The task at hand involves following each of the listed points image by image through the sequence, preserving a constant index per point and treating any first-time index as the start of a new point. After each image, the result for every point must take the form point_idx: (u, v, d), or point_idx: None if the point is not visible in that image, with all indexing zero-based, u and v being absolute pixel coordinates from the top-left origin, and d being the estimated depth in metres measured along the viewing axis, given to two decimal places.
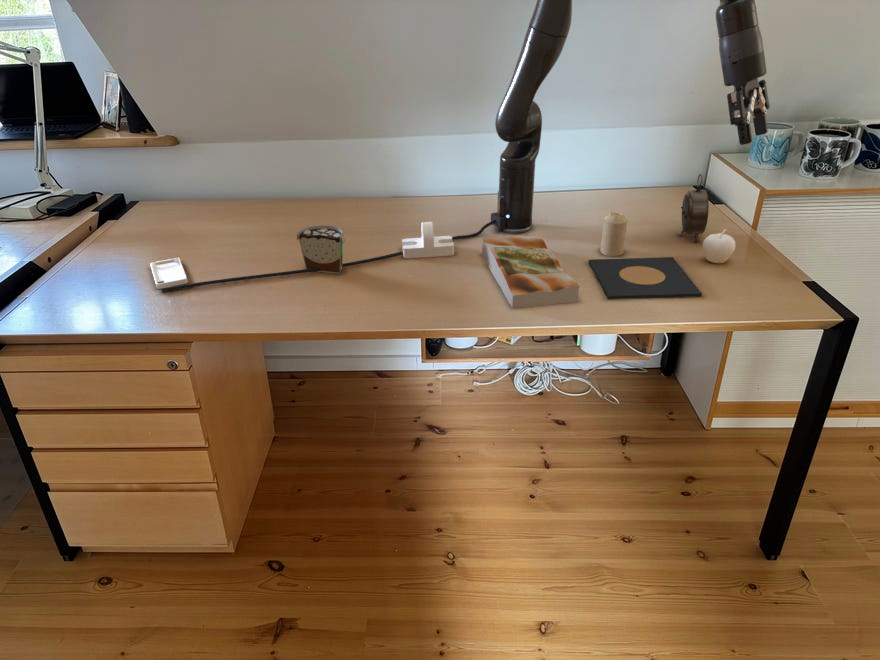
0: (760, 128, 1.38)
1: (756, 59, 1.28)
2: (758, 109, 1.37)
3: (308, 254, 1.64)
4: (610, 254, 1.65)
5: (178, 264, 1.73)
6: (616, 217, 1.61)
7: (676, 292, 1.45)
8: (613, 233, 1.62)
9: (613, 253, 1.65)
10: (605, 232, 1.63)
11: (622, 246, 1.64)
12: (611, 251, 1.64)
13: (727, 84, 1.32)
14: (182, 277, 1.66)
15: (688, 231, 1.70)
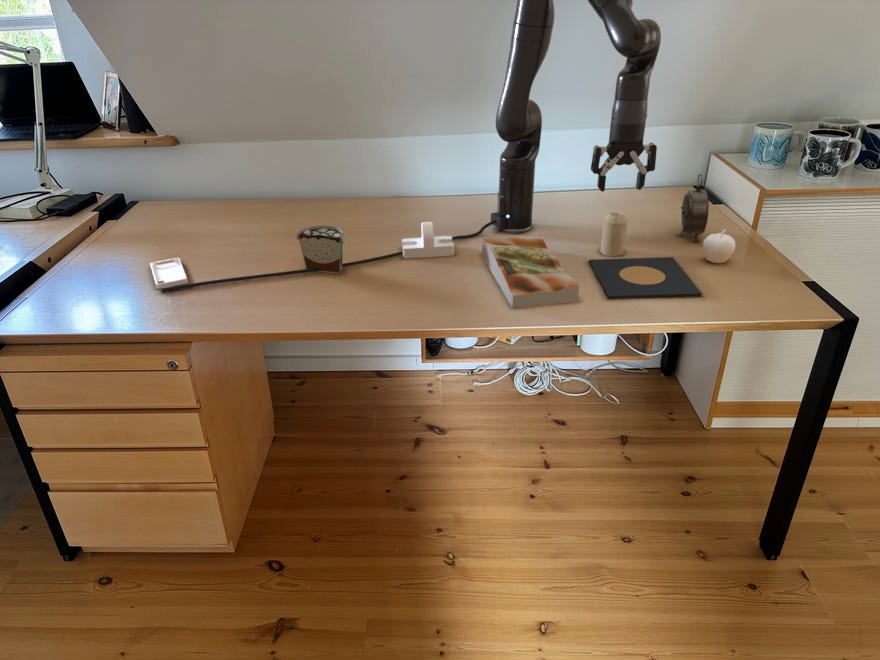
0: (637, 183, 1.58)
1: (622, 128, 1.49)
2: None
3: (308, 254, 1.64)
4: (610, 254, 1.65)
5: (178, 264, 1.73)
6: (616, 217, 1.61)
7: (676, 292, 1.45)
8: (613, 233, 1.62)
9: (613, 253, 1.65)
10: (605, 232, 1.63)
11: (622, 246, 1.64)
12: (611, 251, 1.64)
13: None
14: (182, 277, 1.66)
15: (688, 231, 1.70)
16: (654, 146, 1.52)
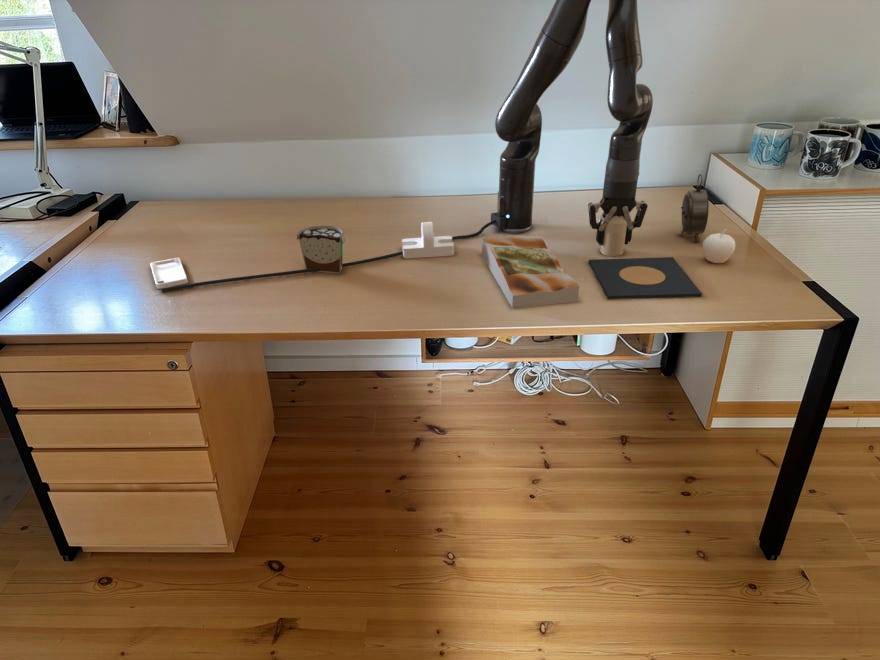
0: None
1: (615, 186, 1.55)
2: None
3: (308, 254, 1.64)
4: (610, 254, 1.65)
5: (178, 264, 1.73)
6: (616, 217, 1.61)
7: (676, 292, 1.45)
8: (613, 233, 1.62)
9: (613, 253, 1.65)
10: (605, 232, 1.63)
11: (622, 246, 1.64)
12: (611, 251, 1.64)
13: None
14: (182, 277, 1.66)
15: (688, 231, 1.70)
16: (645, 205, 1.59)
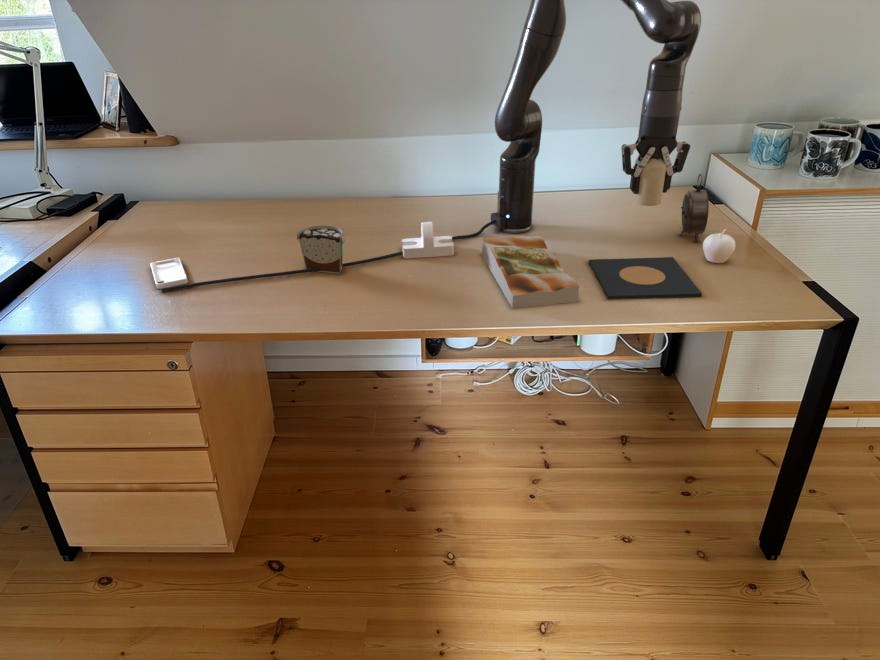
0: None
1: (654, 122, 1.35)
2: None
3: (308, 254, 1.64)
4: (646, 204, 1.45)
5: (178, 264, 1.73)
6: (654, 160, 1.41)
7: (676, 292, 1.45)
8: (650, 179, 1.42)
9: (650, 202, 1.44)
10: (641, 178, 1.43)
11: (660, 194, 1.44)
12: (648, 200, 1.44)
13: None
14: (182, 277, 1.66)
15: (688, 231, 1.70)
16: (688, 145, 1.39)
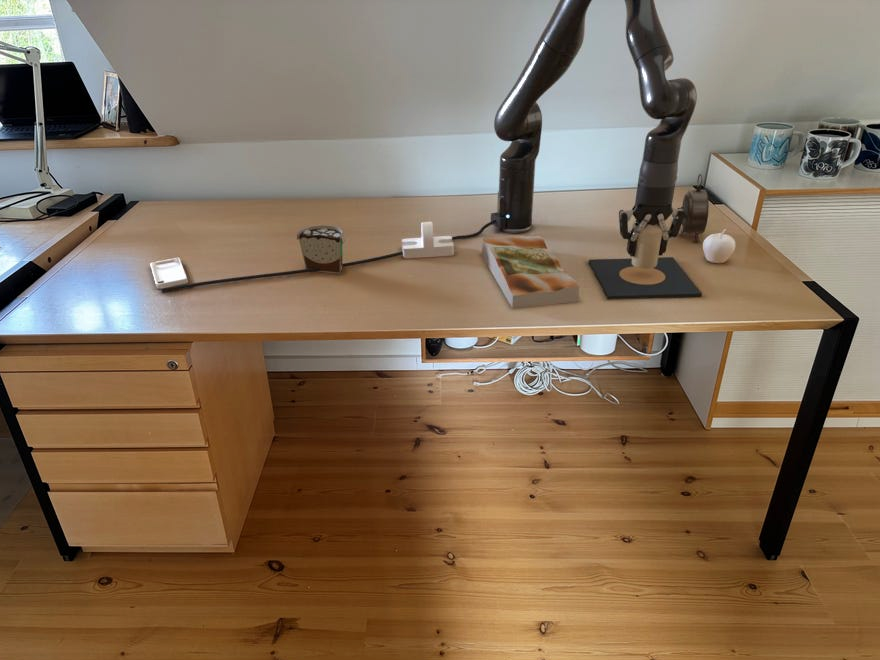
0: None
1: (650, 191, 1.40)
2: None
3: (308, 254, 1.64)
4: (643, 266, 1.49)
5: (178, 264, 1.73)
6: (650, 226, 1.45)
7: (676, 292, 1.45)
8: (647, 243, 1.46)
9: (646, 265, 1.49)
10: (638, 242, 1.48)
11: (656, 258, 1.49)
12: (644, 263, 1.49)
13: None
14: (182, 277, 1.66)
15: (688, 231, 1.70)
16: (683, 212, 1.44)
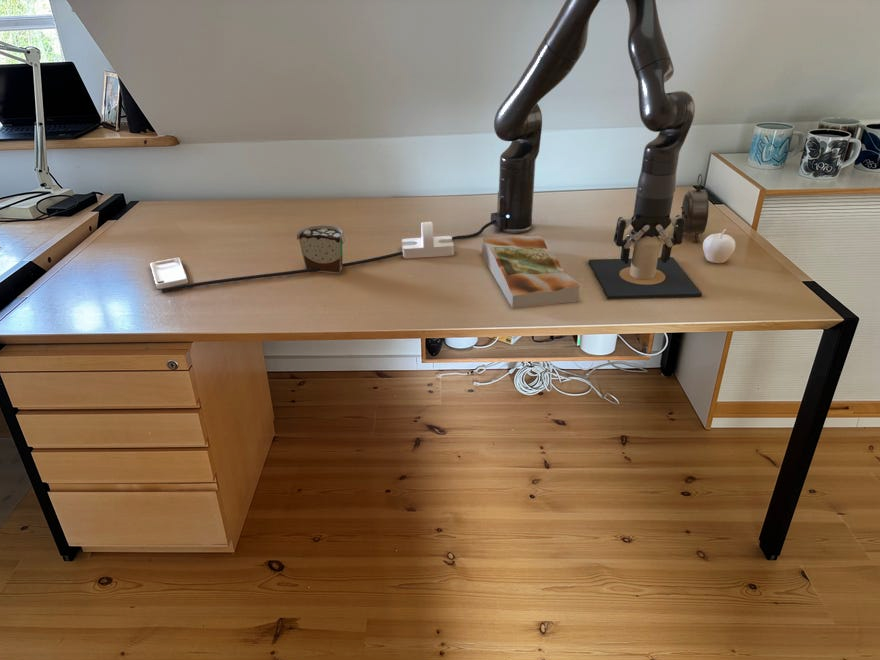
0: (662, 256, 1.50)
1: (649, 203, 1.41)
2: None
3: (308, 254, 1.64)
4: (641, 277, 1.51)
5: (178, 264, 1.73)
6: (648, 238, 1.47)
7: (676, 292, 1.45)
8: (645, 255, 1.48)
9: (644, 276, 1.50)
10: (636, 253, 1.49)
11: (654, 269, 1.50)
12: (642, 274, 1.50)
13: None
14: (182, 277, 1.66)
15: (688, 231, 1.70)
16: (681, 220, 1.45)
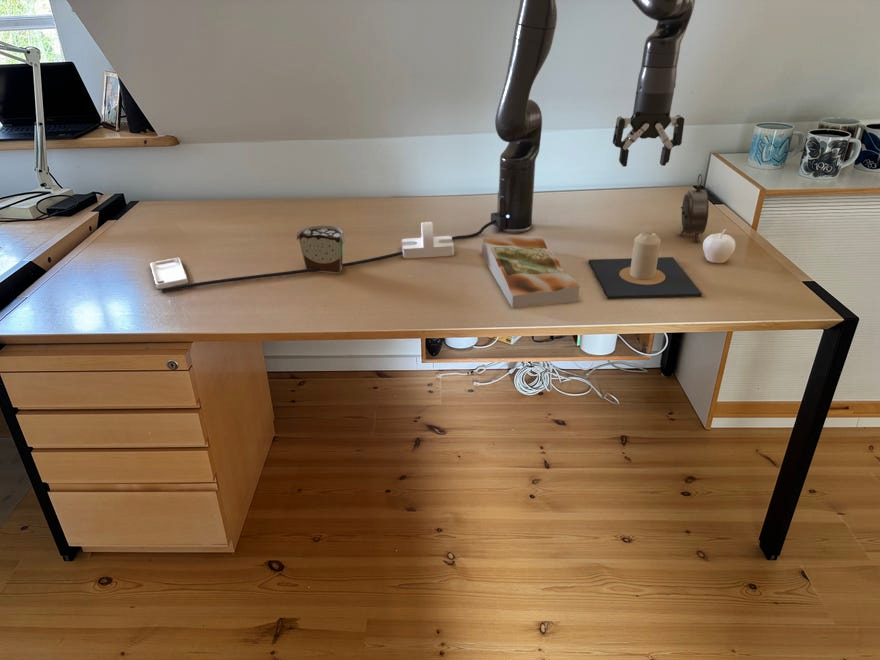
0: (662, 159, 1.49)
1: (648, 98, 1.39)
2: None
3: (308, 254, 1.64)
4: (641, 277, 1.51)
5: (178, 264, 1.73)
6: (648, 238, 1.47)
7: (676, 292, 1.45)
8: (645, 255, 1.48)
9: (644, 276, 1.50)
10: (636, 253, 1.49)
11: (654, 269, 1.50)
12: (642, 274, 1.50)
13: None
14: (182, 277, 1.66)
15: (688, 231, 1.70)
16: (682, 118, 1.43)
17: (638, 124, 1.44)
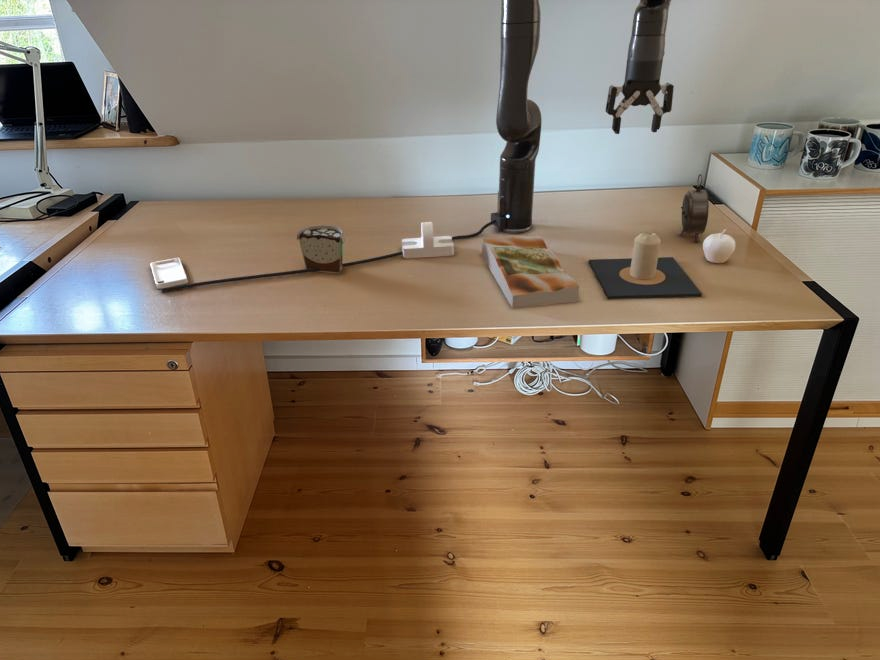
0: (653, 126, 1.55)
1: (639, 66, 1.46)
2: None
3: (308, 254, 1.64)
4: (641, 277, 1.51)
5: (178, 264, 1.73)
6: (648, 238, 1.47)
7: (676, 292, 1.45)
8: (645, 255, 1.48)
9: (644, 276, 1.50)
10: (636, 253, 1.49)
11: (654, 269, 1.50)
12: (642, 274, 1.50)
13: None
14: (182, 277, 1.66)
15: (688, 231, 1.70)
16: (671, 86, 1.49)
17: (629, 92, 1.50)
